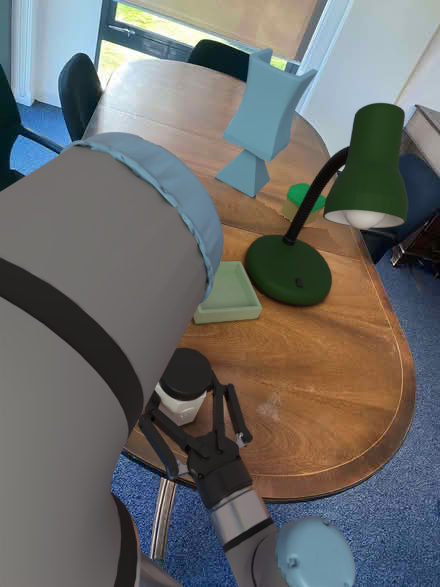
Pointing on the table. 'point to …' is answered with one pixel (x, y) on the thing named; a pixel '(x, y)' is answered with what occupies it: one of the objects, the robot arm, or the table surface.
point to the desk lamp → (337, 208)
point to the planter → (262, 122)
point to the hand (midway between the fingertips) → (169, 363)
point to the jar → (184, 385)
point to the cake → (295, 200)
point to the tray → (229, 296)
